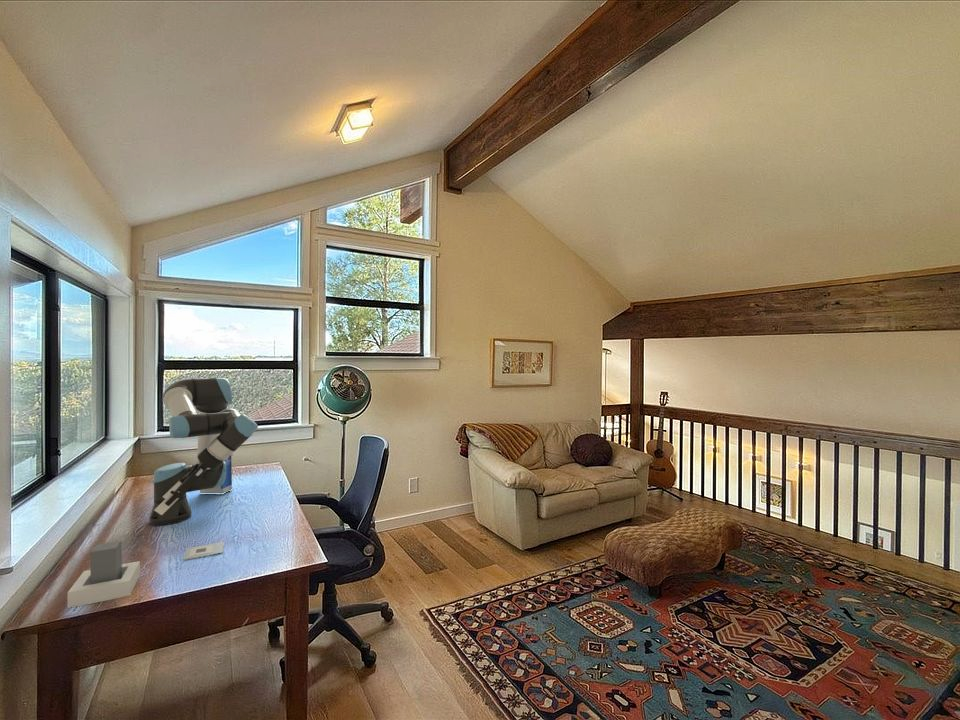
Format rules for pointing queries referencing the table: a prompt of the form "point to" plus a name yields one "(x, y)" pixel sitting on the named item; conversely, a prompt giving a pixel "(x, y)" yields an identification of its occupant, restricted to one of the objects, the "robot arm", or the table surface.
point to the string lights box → (227, 483)
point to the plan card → (203, 550)
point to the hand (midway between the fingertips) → (162, 505)
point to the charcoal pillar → (106, 562)
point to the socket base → (103, 587)
